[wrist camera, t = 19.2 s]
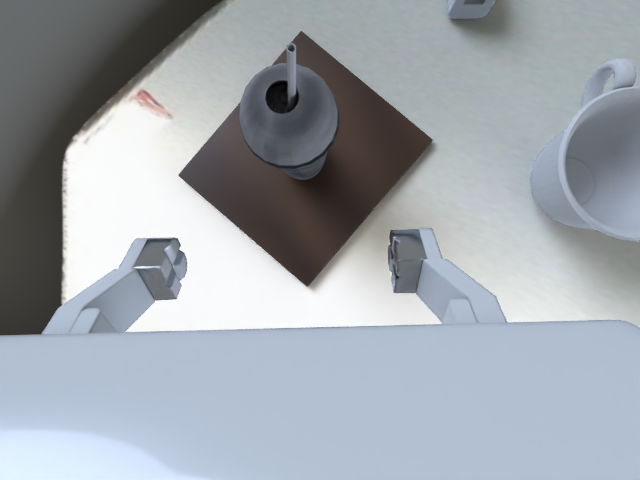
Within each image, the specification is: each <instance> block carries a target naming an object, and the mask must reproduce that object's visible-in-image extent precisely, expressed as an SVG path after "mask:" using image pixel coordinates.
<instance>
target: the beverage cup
mask: <svg viewBox="0 0 640 480" xmlns="http://www.w3.org/2000/svg"><path fill="white" fill-rule="evenodd" d="M239 118H240V126H241V130H242V133H243V137H244V141H245V142H246V144H247V145H248V147H249V148H250V150H251V151H252V153H253V154H254V155H255V156H257V157H258V158H259V159H260V160H262V161H263V162H264V163H266V164H269V165H271V166H274V167H277V168H280V169H281V170H282V171H283V172H285V173H286V174H287V175H289V176H290V177H292V178H295V179H298V180H307V179H310V178H313V177H314V176H316V175H317V174H318V173H319V172H320V170H321V169H322V167H323V165H324V162H325V159H326V155H327V152H328V150H329V148H330V147H331V146H332V145H333V143H334V141H335V138H336V135H337V132H338V130H339V110H338V106H337V103H336V99H335V97H334V96H333V93H332V92H331V90H330V89H329V87H328V86H327V84H326V83H325V82H324V80H323V79H322V78H321V77H320V76H318V75H317V74H316V73H315V72H313V71H312V70H311V69H309V68H307V67H304V66H301V65H298V64H296V46H295V45H294V44H293V43H289V44H288V45H287V63H280V64H276V65H273V66H270V67H267V68H265V69H264V70H262V71H261V72H259V73H258V74H256V75H255V76H254V77H253V79H252V80H251V81H250V82H249V84H248V85H247V86H246V88H245V91H244V94H243V96H242V99H241V102H240V117H239Z"/></svg>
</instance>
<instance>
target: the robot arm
mask: <svg viewBox="0 0 640 480" xmlns="http://www.w3.org/2000/svg"><path fill="white" fill-rule="evenodd" d="M390 243H391V245H390V246H389V247H388V265H389V270H390V271H391V272H392V276H391V282H392V287H393V292H394V293H416V294H417V295H418V297H419V298H420V299H421V300H422V301H423V302H424V303H425V304H426V305H427V306H428V308H429V309H430V310H431V311H432V312H433V313H434V314H435V315H436V316H437V317H438V318H439V320H440V321H441V322H442V324H433V325H394V326H355V327H314V328H275V329H236V330H197V331H157V332H125V331H126V330H127V329H128V328H129V327H130V326H131V325H132V324H133V323H134V322H135V321H136V320H137V319H138V318H139V317H140V316H141V315H142V314H143V313H144V312H145V311H146V310H147V309H148V308H149V307H150V306H151V305H152V304H153V303H154V302H155V300H170V299H177V297H178V294H179V291H180V288H181V286H182V285H181V283H180V280H181V279H182V278H184V277H185V274H186V271H187V260H186V256H185V254H184V253H183V252H182V251H180V250H179V248H180V243H179V241H178V239H177V238H137V239H135V240H134V241H133V243H132V245H131V246H130V248H129V250H128V252H127V254H126V256H125V257H124V259H123V261H122V263H121V265H120V266H119V268H118V269H114V270H113V271H111V272H110V273H108V274H107V275H105V276H104V277H103V278H101V279H100V280H98V281H97V282H95V283H94V284H92V285H91V286H90V287H88V288H87V289H85V290H84V291H82V292H81V293H79V294H78V295H77V296H75V297H74V298H72V299H71V300H69V301H68V302H66V303H65V304H64V305H62V306H61V307H59V308H58V309H57V311H56V312H55V314H54V316H53V317H52V319H51V320H50V322H49V323H48V325H47V326H46V328H45V330H44V331H43V333H42V334H40V335H3V336H2V335H1V336H0V480H640V328H639V327H637V326H636V325H634V324H632V323H630V322H626V321H621V320H588V321H551V322H511V323H507V321H506V319H505V316H504V314H503V312H502V310H501V307H500V305H499V303H498V300H497V298H496V296H495V295H493V294H492V293H491V292H489V291H488V290H487V289H485V288H484V287H483V286H481V285H480V284H479V283H477V282H476V281H475V280H474V279H472V278H471V277H470V276H468V275H467V274H466V273H464V272H463V271H462V270H460V269H459V268H458V267H457V266H455V265H454V264H453V263H451V262H450V261H449V260H447V259H443V258H442V255H441V252H440V250H439V247H438V244H437V241H436V238H435V235H434V232H433V230H432V229H431V228H427V229H409V230H391V232H390Z"/></svg>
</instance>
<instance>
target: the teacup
mask: <svg viewBox="0 0 640 480" xmlns="http://www.w3.org/2000/svg"><path fill="white" fill-rule="evenodd" d="M612 73H614V83H613V86H612V87H611V89H610V90H609V91H608V92H606V93H604V94H602V92H603V89H604V86H605V84H606V82H607V80H608V78H609V77H610V76H611V74H612ZM635 80H636V67H635V65H634V63H633V62H632V61H631V60H628V59H613V60H610V61H608V62H605V63H604V64H602V65H601V66H599V67H598V68H597V69H596V70H595V71H594V72H593V74H592V75H591V77H590V78H589V80H588V82H587V84H586V87H585V90H584V95H583V100H582V107H581V110H580V111H579V112H578V113H577V114H576V115H575V116H574V118H573V119H572V120H571V122H570V124H569V125H568V127H567V129H566V130H565V131H563V132H562V133H560V134H559V135H558V136H557V137H555V138H554V139H553V140H552V141H551V142H549V143H548V144H547V145H546V146H545V147H544V149H543V150H542V151H541V153H540V154H539V155H538V157H537V159H536V160H535V163H534V165H533V168H532V172H531V178H530V183H531V190H532V194H533V196H534V199H535V201H536V202H537V204H538V206H539V207H540V208H541V209H542V210H543V211H544V212H545V213H546V214H547V215H548V216H549V217H551V218H552V219H554V220H555V221H557V222H560V223H562V224H565V225H568V226H572V227H577V228H585V229H596V230H598V231H600V232H601V233H603V234H605V235H608V236H611V237H613V238H617V239H621V240H627V241H640V87H632V86H633V85H634V83H635Z"/></svg>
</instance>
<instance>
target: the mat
mask: <svg viewBox="0 0 640 480" xmlns="http://www.w3.org/2000/svg"><path fill="white" fill-rule="evenodd" d="M291 43H293V44H294V45H295V46H296V64H298V65H301V66H304V67H307V68H309V69H311V70H312V71H313V72H315V73H316V74H317V75H318V76H320V77H321V78H322V79H323V80H324V82H325V83H326V84H327V86H328V87H329V89H330V90H331V92H332V93H333V96H334V97H335V99H336V103H337V106H338V110H339V130H338V132H337V135H336V138H335V141H334V143H333V145H332V146H331V147H330V148H329V150H328V152H327V155H326V159H325V162H324V165H323V167H322V169H321V170H320V172H319V173H318V174H317V175H316V176H314V177H313V178H310V179H307V180H298V179H295V178H292V177H290V176H289V175H287V174H286V173H285V172H283V171H282V170H281V169H280V168H277V167H274V166H271V165H269V164H266V163H264V162H263V161H262V160H260V159H259V158H258V157H257V156H255V155H254V154H253V153H252V151H251V150H250V148H249V147H248V145H247V144H246V142H245V141H244V137H243V133H242V130H241V126H240V118H239V117H240V103H239V104H238V106H237V107H236V108H235V109H234V110H233V111H232V113H231V114H230V115H229V116H228V117H227V119H226V120H225V121H224V122H223V123H222V124H221V126H220V127H219V128H218V129H217V130H216V131H215V133H214V134H213V135H212V136H211V137H210V138H209V140H208V141H207V142H206V143H205V144H204V145H203V147H202V148H201V149H200V150H199V151H198V153H197V154H196V155H195V156H194V157H193V158H192V160H191V161H190V162H189V163H188V164H187V165H186V167H185V168H184V169H183V170H182V171H181V172H180V174H179V176H180V177H181V178H182V179H183V180H184V181H185V182H187V183H188V184H189V185H190V186H191V187H192V188H194V189H195V190H196V191H197V192H198V193H199V194H200V195H202V196H203V197H204V198H205V199H206V200H207V201H209V202H210V203H211V204H212V205H213V206H214V207H216V208H217V209H218V210H219V211H220V212H221V213H222V214H224V215H225V216H226V217H227V218H228V219H229V220H231V221H232V222H233V223H234V224H235V225H236V226H237V227H239V228H240V229H241V230H242V231H243V232H244V233H246V234H247V235H248V236H249V237H250V238H251V239H253V240H254V241H255V242H256V243H257V244H258V245H259V246H261V247H262V248H263V249H264V250H265V251H266V252H268V253H269V254H270V255H271V256H272V257H273V258H275V259H276V260H277V261H278V262H279V263H280V264H281V265H283V266H284V267H285V268H286V269H287V270H288V271H290V272H291V273H292V274H293V275H294V276H295V277H297V278H298V279H299V280H300V281H301V282H302V283H303V284H305V285H306V286H308V285H309V284H310V283H311V282H312V281H313V280H314V278H315V277H316V276H317V275H318V274H319V273H320V271H321V270H322V269H323V268H324V267H325V266H326V264H327V263H328V262H329V261H330V260H331V259H332V257H333V256H334V255H335V254H336V253H337V252H338V250H339V249H340V248H341V247H342V246H343V245H344V243H345V242H346V241H347V240H348V239H349V238H350V236H351V235H352V234H353V233H354V232H355V230H356V229H357V228H358V227H359V226H360V225H361V223H362V222H363V221H364V220H365V219H366V218H367V216H368V215H369V214H370V213H371V212H372V211H373V209H374V208H375V207H376V206H377V205H378V204H379V202H380V201H381V200H382V199H383V198H384V197H385V195H386V194H387V193H388V192H389V191H390V190H391V188H392V187H393V186H394V185H395V184H396V183H397V181H398V180H399V179H400V178H401V177H402V176H403V174H404V173H405V172H406V171H407V170H408V169H409V167H410V166H411V165H412V164H413V163H414V162H415V160H416V159H417V158H418V157H419V156H420V155H421V153H422V152H423V151H424V150H425V149H426V148H427V146H428V145H429V144H430V143H431V142H432V139H431V138H430V137H429V136H428V135H426V134H425V133H424V132H423V131H422V130H420V129H419V128H418V127H417V126H415V125H414V124H413V123H412V122H411V121H409V120H408V119H407V118H406V117H405V116H403V115H402V114H401V113H400V112H399V111H397V110H396V109H395V108H394V107H393V106H391V105H390V104H389V103H388V102H386V101H385V100H384V99H383V98H382V97H380V96H379V95H378V94H377V93H376V92H374V91H373V90H372V89H371V88H370V87H368V86H367V85H366V84H365V83H364V82H362V81H361V80H360V79H359V78H357V77H356V76H355V75H354V74H353V73H351V72H350V71H349V70H348V69H347V68H345V67H344V66H343V65H342V64H341V63H339V62H338V61H337V60H336V59H335V58H333V57H332V56H331V55H330V54H328V53H327V52H326V51H325V50H324V49H322V48H321V47H320V46H319V45H318V44H316V43H315V42H314V41H313V40H312V39H310V38H309V37H308V36H307V35H306V34H304V33H303V32H302V31H301V32H300V33H299V34H298V35H297V36H296V38H295V39H294V40H293V41H292V42H291ZM280 63H287V48H286V49H285V50H284V52H283V53H282V54H281V55H280V56H279V58H278V59H277V60H276V61H275V62H274V63H273V65H276V64H280ZM273 65H272V66H273Z"/></svg>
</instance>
